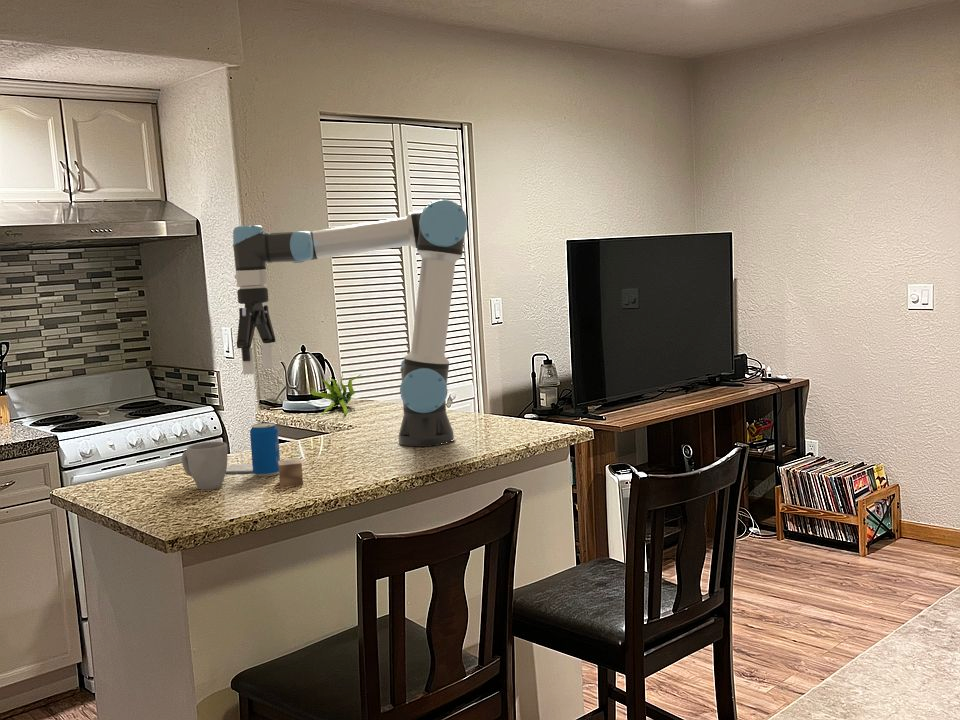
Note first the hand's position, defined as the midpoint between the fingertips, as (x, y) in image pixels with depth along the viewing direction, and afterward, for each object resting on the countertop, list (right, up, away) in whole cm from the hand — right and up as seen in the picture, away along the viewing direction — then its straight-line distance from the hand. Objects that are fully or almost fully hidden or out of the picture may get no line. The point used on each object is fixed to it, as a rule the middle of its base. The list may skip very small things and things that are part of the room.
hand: (259, 371), depth 234 cm
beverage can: (+5, -25, -14) cm, 29 cm away
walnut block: (+13, -25, -25) cm, 38 cm away
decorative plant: (+9, -15, +80) cm, 82 cm away
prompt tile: (-2, -24, -7) cm, 25 cm away
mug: (-7, -26, -24) cm, 36 cm away
